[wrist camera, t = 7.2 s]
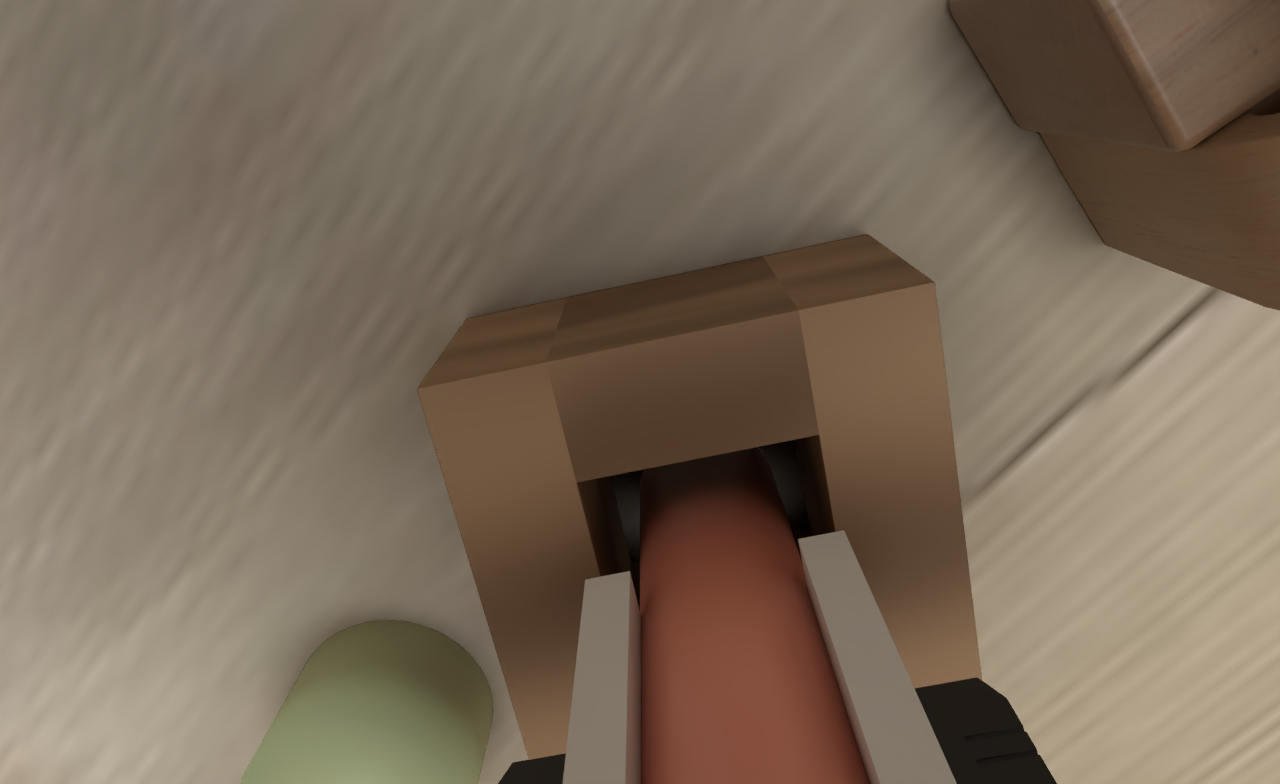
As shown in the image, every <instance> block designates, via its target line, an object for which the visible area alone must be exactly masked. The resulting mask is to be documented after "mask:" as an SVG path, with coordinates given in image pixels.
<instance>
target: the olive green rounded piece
mask: <svg viewBox="0 0 1280 784" xmlns="http://www.w3.org/2000/svg"><path fill="white" fill-rule="evenodd" d="M492 717H493V700H492V695H491V690H490V687H489V684H488V682H487V679H486V677H485V675H484V673H483V672H482V670H481V668H480V667H479V665H478V664H477V663H476V661H475V660H474V659H473V657H472V656H471V655H470V654H469V653H468V652H467V651H466V650H465V649H464V648H462V647H461V646H460V645H459V644H457V643H456V642H455V641H453V640H452V639H450V638H448V637H447V636H445V635H444V634H442V633H439V632H437V631H435V630H433V629H431V628H428V627H425V626H422V625H419V624H414V623H410V622H403V621H394V620H387V621H373V622H366V623H362V624H358V625H354V626H352V627H349V628H347V629H344V630H342V631H340V632H338V633H337V634H335V635H333V636H332V637H330V638H329V639H327V640H326V641H325V642H323V643H322V644H321V645H320V646H319V647H318V648H317V649H316V650H315V652H314V653H313V654H312V656H311V657H310V658H309V660H308V662H307V663H306V665H305V667H304V669H303V670H302V672H301V674H300V676H299V677H298V679H297V681H296V683H295V684H294V686H293V688H292V690H291V691H290V693H289V695H288V697H287V699H286V700H285V702H284V704H283V706H282V707H281V709H280V711H279V713H278V714H277V716H276V718H275V720H274V721H273V723H272V725H271V727H270V728H269V730H268V732H267V734H266V736H265V737H264V739H263V741H262V743H261V744H260V746H259V748H258V750H257V751H256V753H255V755H254V757H253V758H252V760H251V762H250V764H249V765H248V767H247V769H246V771H245V773H244V775H243V777H242V779H241V782H240V784H478V780H479V776H480V772H481V767H482V763H483V759H484V754H485V750H486V745H487V741H488V737H489V732H490V728H491V724H492Z"/></svg>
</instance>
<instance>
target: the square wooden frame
mask: <svg viewBox="0 0 1280 784" xmlns="http://www.w3.org/2000/svg"><path fill="white" fill-rule="evenodd" d="M417 391H418V394H419V397H420V401H421V404H422V407H423V411H424V414H425V417H426V420H427V424H428V427H429V430H430V434H431V437H432V440H433V444H434V447H435V450H436V453H437V457H438V460H439V463H440V467H441V470H442V473H443V477H444V480H445V483H446V487H447V490H448V493H449V496H450V500H451V503H452V506H453V510H454V513H455V516H456V520H457V523H458V526H459V530H460V533H461V536H462V539H463V543H464V546H465V549H466V553H467V556H468V559H469V563H470V566H471V569H472V572H473V576H474V579H475V582H476V586H477V589H478V592H479V596H480V599H481V602H482V606H483V609H484V612H485V615H486V619H487V622H488V625H489V629H490V632H491V635H492V639H493V642H494V645H495V649H496V652H497V655H498V658H499V662H500V665H501V668H502V672H503V675H504V678H505V682H506V685H507V688H508V691H509V695H510V698H511V701H512V705H513V708H514V711H515V715H516V718H517V721H518V725H519V728H520V731H521V734H522V738H523V741H524V744H525V748H526V751H527V754H528V758H529V760H531V759H536V758H542V757H548V756H553V755H559V754H564V753H566V748H567V739H568V730H569V721H570V712H571V703H572V694H573V685H574V676H575V667H576V658H577V649H578V640H579V631H580V622H581V613H582V604H583V595H584V586H585V579H591V578H596V577H601V576H607V575H612V574H617V573H622V572H628V571H630V573H631V577H632V581H633V586H634V590H635V594H636V598H637V602H638V606H639V610H640V560H638V561H633V562H631V559H630V555H629V551H628V547H627V543H626V539H625V535H624V530H623V526H622V522H621V518H620V514H619V510H618V506H617V502H616V497H615V493H614V489H613V485H612V481H611V477H610V476H613V475H618V474H623V473H628V472H633V471H638V470H643V469H648V468H653V467H658V466H663V465H668V464H673V463H678V462H684V461H689V460H694V459H699V458H704V457H709V456H714V455H719V454H724V453H729V452H734V451H739V450H744V449H750V448H755V447H760V446H765V445H770V444H775V443H780V442H785V441H790V440H795V442H796V448H797V454H798V459H799V465H800V471H801V477H802V482H803V488H804V494H805V499H806V505H807V511H808V517H809V522H810V528H806V529H801V530H796V531H792V533H793V537H794V540H795V543H796V546H797V549H798V552H799V555H800V558H801V553H800V548H799V542H798V539H801V538H806V537H811V536H817V535H822V534H827V533H832V532H838V531H843V530H844V531H845V534H846V536H847V538H848V540H849V543H850V545H851V547H852V549H853V552H854V554H855V556H856V558H857V561H858V563H859V565H860V567H861V570H862V572H863V574H864V576H865V579H866V581H867V583H868V585H869V587H870V590H871V592H872V594H873V596H874V599H875V601H876V603H877V605H878V608H879V610H880V612H881V614H882V617H883V619H884V621H885V623H886V626H887V628H888V630H889V632H890V635H891V637H892V639H893V641H894V644H895V646H896V648H897V650H898V653H899V655H900V657H901V659H902V662H903V664H904V666H905V668H906V671H907V673H908V675H909V677H910V680H911V682H912V684H913V686H914V688H920V687H925V686H931V685H937V684H942V683H948V682H953V681H959V680H965V679H970V678H976V677H978V678H979V679H980V680H982V676H981V668H980V660H979V651H978V643H977V634H976V626H975V618H974V609H973V601H972V592H971V584H970V575H969V567H968V559H967V550H966V542H965V533H964V525H963V517H962V508H961V500H960V491H959V483H958V474H957V466H956V458H955V449H954V441H953V432H952V424H951V416H950V407H949V399H948V390H947V382H946V373H945V365H944V357H943V348H942V340H941V331H940V323H939V315H938V306H937V298H936V289H935V282H934V281H932V280H931V279H929V278H928V277H927V276H925V275H924V274H922V273H921V272H920V271H918V270H917V269H915V268H914V267H913V266H911V265H910V264H909V263H907V262H906V261H904V260H903V259H902V258H900V257H899V256H897V255H896V254H895V253H893V252H892V251H890V250H889V249H888V248H886V247H885V246H883V245H882V244H881V243H879V242H878V241H876V240H875V239H874V238H872V237H871V236H869V235H868V234H867V235H862V236H857V237H852V238H848V239H843V240H838V241H833V242H829V243H824V244H819V245H814V246H810V247H805V248H800V249H795V250H791V251H786V252H781V253H776V254H772V255H767V256H762V257H757V258H753V259H748V260H743V261H738V262H734V263H729V264H724V265H719V266H715V267H710V268H705V269H700V270H696V271H691V272H686V273H681V274H677V275H672V276H667V277H662V278H658V279H653V280H648V281H643V282H639V283H634V284H629V285H624V286H620V287H615V288H610V289H605V290H601V291H596V292H591V293H586V294H582V295H577V296H572V297H567V298H563V299H558V300H553V301H548V302H544V303H539V304H534V305H529V306H525V307H520V308H515V309H510V310H506V311H501V312H496V313H491V314H487V315H482V316H477V317H472V318H468V319H466V320H465V322H464V323H463V325H462V326H461V327H460V329H459V330H458V332H457V333H456V334H455V336H454V337H453V339H452V340H451V342H450V343H449V344H448V346H447V347H446V349H445V350H444V351H443V353H442V354H441V356H440V357H439V358H438V360H437V361H436V363H435V364H434V366H433V367H432V368H431V370H430V371H429V373H428V374H427V375H426V377H425V378H424V380H423V381H422V383H421V384H420V385H419V387H418V388H417ZM801 561H802V559H801Z"/></svg>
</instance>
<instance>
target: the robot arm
mask: <svg viewBox="0 0 1280 784" xmlns="http://www.w3.org/2000/svg"><path fill="white" fill-rule="evenodd" d="M798 542H799V548H800V553H801V559H802V564H803V570H804V576H805V581H806V586H807V590H808V593H809V596H810V599H811V602H812V605H813V608H814V611H815V614H816V618H817V621H818V624H819V627H820V630H821V633H822V636H823V639H824V642H825V646H826V649H827V652H828V655H829V658H830V661H831V664H832V667H833V670H834V673H835V677H836V680H837V683H838V686H839V689H840V692H841V695H842V698H843V701H844V705H845V708H846V711H847V714H848V717H849V720H850V723H851V726H852V729H853V732H854V736H855V739H856V742H857V745H858V748H859V751H860V754H861V757H862V760H863V764H864V767H865V770H866V773H867V776H868V779H869V782H870V784H1057V783H1056V782H1055V780H1054V778H1053V776H1052V775H1051V773H1050V771H1049V770H1048V768H1047V766H1046V764H1045V763H1044V761H1043V759H1042V758H1041V756H1040V755H1038V753H1037V750H1036V747H1035V746H1034V744H1033V742H1032V741H1031V739H1030V737H1029V735H1028V734H1027V732H1025V731H1024V729H1023V725H1022V724H1021V722H1020V720H1019V718H1018V717H1017V715H1016V713H1015V712H1014V710H1013V708H1012V706H1011V705H1010V703H1009V701H1008V700H1007V698H1005V697H1004V696H1003V695H1001V694H1000V693H998V692H997V691H996V690H994V689H993V688H991V687H990V686H989V685H987V684H986V683H984V682H983V681H982V680H980V679H979V678H978V677H976V678H970V679H965V680H959V681H953V682H948V683H942V684H937V685H931V686H925V687H920V688H914V686H913V684H912V682H911V680H910V677H909V675H908V673H907V671H906V668H905V666H904V664H903V662H902V659H901V657H900V655H899V653H898V650H897V648H896V646H895V644H894V641H893V639H892V637H891V635H890V632H889V630H888V628H887V626H886V623H885V621H884V619H883V617H882V614H881V612H880V610H879V608H878V605H877V603H876V601H875V599H874V596H873V594H872V592H871V590H870V587H869V585H868V583H867V581H866V579H865V576H864V574H863V572H862V570H861V567H860V565H859V563H858V561H857V558H856V556H855V554H854V552H853V549H852V547H851V545H850V543H849V540H848V538H847V536H846V534H845V531H844V530H843V531H838V532H832V533H827V534H822V535H817V536H811V537H806V538H801V539H798ZM498 784H641V614H640V610H639V606H638V602H637V598H636V594H635V590H634V586H633V581H632V577H631V573H630V571H628V572H622V573H617V574H612V575H607V576H601V577H596V578H591V579H585V586H584V595H583V604H582V613H581V622H580V631H579V640H578V649H577V658H576V667H575V676H574V685H573V694H572V703H571V712H570V721H569V730H568V739H567V748H566V753H564V754H559V755H553V756H548V757H542V758H536V759H531V760H525V761H520V762H514V763H512V764H511V766H510V767H509V769H508V770H507V772H506V773H505V775H504V776H503V777H502V779H501V780H500V782H499V783H498Z"/></svg>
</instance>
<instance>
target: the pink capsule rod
mask: <svg viewBox="0 0 1280 784" xmlns="http://www.w3.org/2000/svg"><path fill="white" fill-rule="evenodd" d="M640 614H641V784H870V782H869V779H868V776H867V773H866V770H865V767H864V764H863V760H862V757H861V754H860V751H859V748H858V745H857V742H856V739H855V736H854V732H853V729H852V726H851V723H850V720H849V717H848V714H847V711H846V708H845V705H844V701H843V698H842V695H841V692H840V689H839V686H838V683H837V680H836V677H835V673H834V670H833V667H832V664H831V661H830V658H829V655H828V652H827V649H826V646H825V642H824V639H823V636H822V633H821V630H820V627H819V624H818V621H817V618H816V614H815V611H814V608H813V605H812V602H811V599H810V596H809V593H808V590H807V586H806V581H805V576H804V570H803V564H802V561H801V558H800V555H799V552H798V549H797V546H796V543H795V540H794V537H793V533H792V530H791V527H790V524H789V521H788V518H787V515H786V512H785V509H784V506H783V503H782V500H781V497H780V494H779V491H778V488H777V485H776V482H775V479H774V476H773V473H772V470H771V467H770V465H769V462H768V460H767V459H766V457H765V455H764V454H763V452H762V451H761V450H760V449H759V448H758V447H755V448H750V449H744V450H739V451H734V452H729V453H724V454H719V455H714V456H709V457H704V458H699V459H694V460H689V461H684V462H678V463H673V464H668V465H663V466H658V467H653V468H648V469H644V470H643V473H642V477H641V483H640Z"/></svg>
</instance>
